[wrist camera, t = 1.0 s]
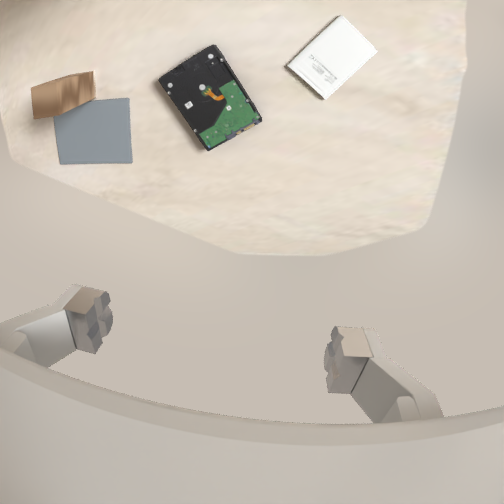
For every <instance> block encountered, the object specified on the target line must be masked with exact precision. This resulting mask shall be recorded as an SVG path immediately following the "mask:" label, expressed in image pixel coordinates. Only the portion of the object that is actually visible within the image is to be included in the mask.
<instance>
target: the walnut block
mask: <svg viewBox="0 0 504 504" xmlns="http://www.w3.org/2000/svg"><path fill="white" fill-rule="evenodd" d="M31 96H32V106H33V116H34V119H38V118H45V117H52V116H59V115H61V114H63V113H65V112H67V111H69V110H71V109H73V108H75V107H77V106H79V105H81V104H83V103H85V102H88V101H90V100H92V99H94V98H96V89H95V71H90V72H84V73H78V74H72V75H68V76H65V77H62V78H58V79H55V80H52V81H49V82H46V83H43V84H40V85H37V86H35V87H32V88H31Z"/></svg>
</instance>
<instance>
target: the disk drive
mask: <svg viewBox="0 0 504 504" xmlns="http://www.w3.org/2000/svg"><path fill="white" fill-rule="evenodd" d="M159 82H160V83H161V85H162V87H163V88H164V89H165V91H166V92H167V93H168V95H169V96H170V98H171V99H172V101H173V102H174V103H175V105H176V106H177V108H178V109H179V110H180V112H181V113H182V115H183V116H184V118H185V119H186V121H187V122H188V124H189V125H190V126H191V128H192V130H193V131H194V132H195V134H196V135H197V137H198V138H199V140H200V142H202V144H203V145H204V147H205V148H206V150H207V151H210V150H212V149H213V148H215V147H217V146H219V145H221V144H222V143H224V142H226V141H227V140H230V139H232V138H234V137H235V136H236V135H238V134H240V133H242V132H243V131H246V130H248V129H249V128H251V127H253V126H255V125H258V124H259V123H260V122H262V117H261V116H260V114H259V112H258V111H257V109H256V107H255V105H254V103H253V102H252V101H251V99H250V98H249V96H248V94H247V93H246V91H245V89H244V88H243V86H242V85H241V83H240V81H239V80H238V78H237V77H236V75H235V74H234V72H233V70H232V69H231V67H230V66H229V64H228V63H227V61H226V60H225V58H224V56H223V54H222V53H221V51H219V49H218V48H217V46H216V45H211V46H209V47H207V48H206V49H204V50H202V51H201V52H199V53H198V54H196V55H194V56H193V57H191V58H189V59H188V60H186V61H185V62H183V63H182V64H180V65H179V66H177V67H176V68H175V69H173V70H171V71H170V72H168V73H167V74H165V75H164V76H162V77H161V78H159Z"/></svg>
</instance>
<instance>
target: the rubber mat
mask: <svg viewBox="0 0 504 504" xmlns="http://www.w3.org/2000/svg"><path fill="white" fill-rule="evenodd" d="M54 123H55V131H56V139H57V146H58V153H59V159H60V164H87V163H132V162H133V161H132V148H131V131H130V108H129V98H119V99H107V100H96V101H88V102H85V103H83V104H81V105H79V106H77V107H75V108H73V109H71V110H69V111H67V112H65V113H63V114H61V115H59V116H54Z"/></svg>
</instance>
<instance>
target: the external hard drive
mask: <svg viewBox="0 0 504 504" xmlns="http://www.w3.org/2000/svg"><path fill="white" fill-rule="evenodd" d="M377 52H378V51H377V50H376V49H375V47H374V46H373V45H372V44H371V43H370V42H369V41H368V40H367V39H366V38H365V37H364V36H363V35H362V34H361V33H360V32H359V31H358V30H357V29H356V28H355V27H354V26H353V25H352V24H351V23H350V22H349V21H348V20H346V19H345V18H344V17H343V16H342V15H340V16H339V17H338V18H336V19H335V20H334V21H333V22H332V23H331V24H330V25H329V26H328V27H326V28H325V29H324V30H323V31H322V32H321V33H320V34H319V35H318V36H317V37H316V38H315V39H314V40H313V41H311V42H310V43H309V44H308V45H307V46H306V47H305V48H304V49H303V50H302V51H301V52H300V53H299V54H298V55H297V56H296V57H295V58H294V59H293V60H292V61H291V62H290V63H289V64H288V65H287V66H288V67H289V68H291V69H292V70H293V71H294V72H295V73H296V74H298V75H299V76H300V77H301V78H302V79H303V80H304V81H306V82H307V83H308V84H309V85H310V86H311V87H312V88H313V89H314V90H316V91H317V92H318V93H319V94H320V95H321V96H322V97H323V98H324V99H325V100H326V99H327V98H328V97H329V96H330V95H331V94H332V93H334V92H335V91H336V90H337V89H338V88H339V87H340V86H341V85H342V84H343V83H344V82H345V81H346V80H347V79H348V78H350V77H351V76H352V75H353V74H354V73H355V72H356V71H357V70H358V69H359V68H360V67H361V66H363V65H364V64H365V63H366V62H367V61H368V60H369V59H370V58H371V57H372V56H373V55H375V54H376V53H377Z"/></svg>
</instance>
